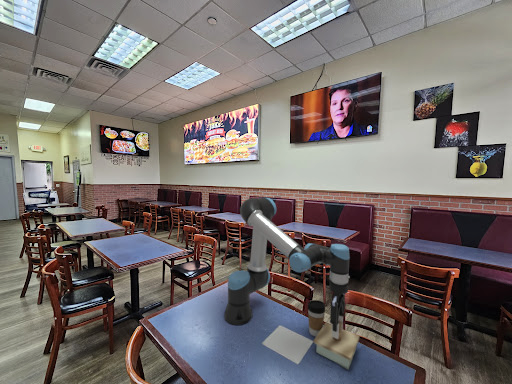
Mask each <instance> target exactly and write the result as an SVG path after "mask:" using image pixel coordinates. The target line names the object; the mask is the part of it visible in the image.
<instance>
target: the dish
mask: <svg viewBox="0 0 512 384" xmlns="http://www.w3.org/2000/svg"><path fill="white" fill-rule="evenodd" d="M356 351H357V348H356V349H355V351H354V354H353V357H352V359H351V361H350V360H348V359H346V358H344V357H342V356H340V355H338V354H336V353H334V352H332V351H329V350H327V349H325V348H323V347H321V346H319V345H317V344H316V352H315V353H317V354H319V355H320V356H322V357H324V358H327V359H328V360H331V361H333V362H334V363H335V364H338V365H339V366H340V367H341V368H343V369H345V370H347V371H349V369H350V367H351V364H352V361H353V359H354V357H355V354H356Z"/></svg>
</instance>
